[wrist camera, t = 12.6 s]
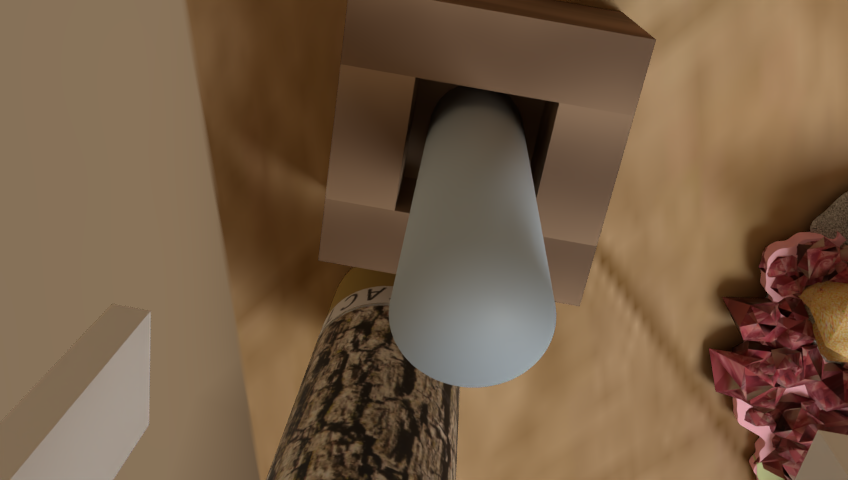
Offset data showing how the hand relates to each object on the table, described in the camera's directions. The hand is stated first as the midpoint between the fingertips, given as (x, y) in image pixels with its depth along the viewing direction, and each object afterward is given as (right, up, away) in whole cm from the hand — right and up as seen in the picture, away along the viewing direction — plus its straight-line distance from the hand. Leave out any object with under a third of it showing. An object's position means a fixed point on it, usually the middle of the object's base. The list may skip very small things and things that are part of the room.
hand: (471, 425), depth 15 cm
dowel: (+1, +8, +18) cm, 20 cm away
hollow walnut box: (+1, +10, +20) cm, 23 cm away
